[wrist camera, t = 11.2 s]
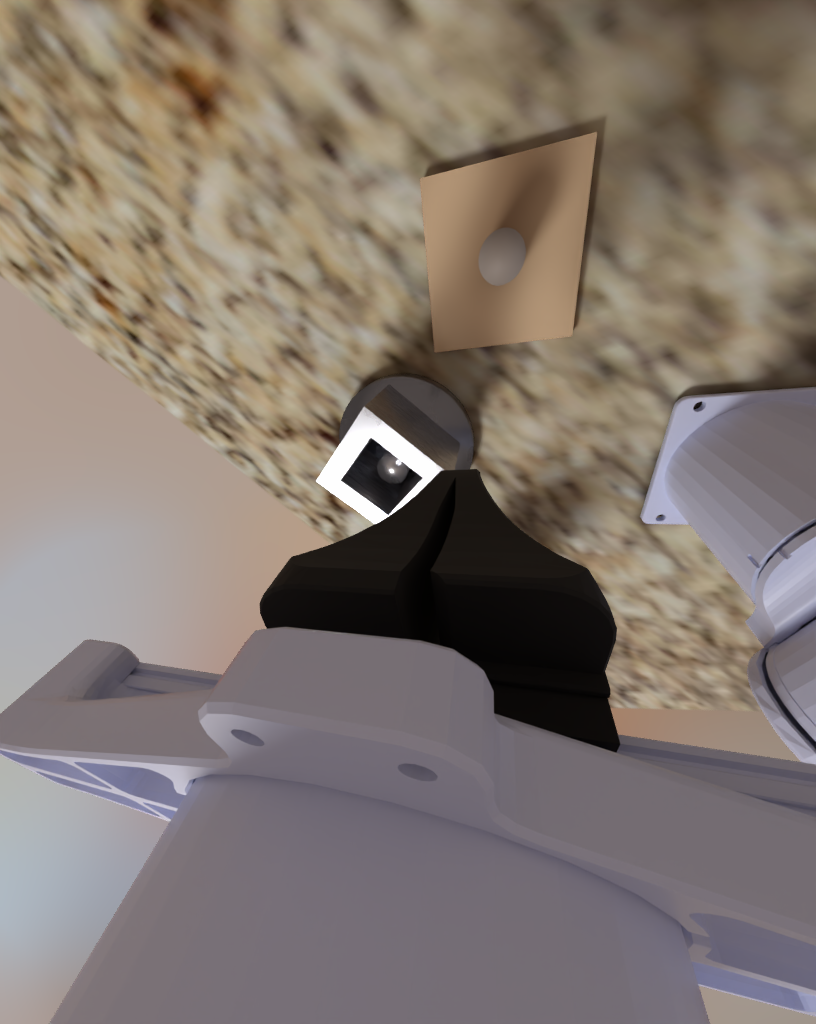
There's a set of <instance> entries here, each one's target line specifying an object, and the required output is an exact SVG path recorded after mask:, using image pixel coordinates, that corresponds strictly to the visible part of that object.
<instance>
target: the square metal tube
mask: <svg viewBox="0 0 816 1024" xmlns="http://www.w3.org/2000/svg"><path fill="white" fill-rule="evenodd" d="M373 439H374V440H375V441H376V442H378V443H379V444H380V445H381V446H383V447H384V448H385V449H387V450H388V451H389V452H390V453H392V454H393V455H394V456H396V457H397V458H398V459H399V460H401V461H402V462H403V463H405V464H406V465H407V466H408V467H410V468H411V469H412V470H413V471H412V473H411V474H410V475H409V476H408V477H407V478H406V479H404V480H403V481H402V482H400V483H396V484H392V483H388V482H386V481H385V480H383V479H382V478H381V477H380V475H379V473H378V470H377V465H378V462H379V461H380V459H379V458H377V457H376V456H375V455H373V454H372V453H371V452H370V451H368V450H367V449H366V448H367V447H368V445H369V444H370V443H371V441H372V440H373ZM460 444H461V443H460V442H458V441H457V440H456V439H455V438H454V437H452V436H451V435H450V434H449V433H447V432H446V431H445V430H444V429H443V428H441V427H440V426H439V425H438V424H437V423H435V422H434V421H433V420H432V419H431V418H429V417H428V416H427V415H426V414H425V413H423V412H422V411H421V410H420V409H419V408H417V407H416V406H415V405H414V404H412V403H411V402H410V401H409V400H408V399H406V398H405V397H404V396H403V395H402V394H400V393H399V392H398V391H397V390H396V389H394V388H393V387H392V386H391V385H390V384H389V385H388V386H386V387H385V388H384V389H383V390H382V391H381V392H380V393H379V394H378V395H376V396H375V397H374V398H373V399H372V400H371V401H370V402H369V403H367V404H366V405H365V406H364V407H363V409H362V411H361V412H360V414H359V415H358V417H357V418H356V420H355V421H354V423H353V425H352V426H351V428H350V429H349V431H348V432H347V434H346V435H345V437H344V438H343V440H342V442H341V443H340V445H339V446H338V448H337V449H336V451H335V452H334V454H333V456H332V457H331V459H330V460H329V462H328V463H327V465H326V466H325V468H324V470H323V471H322V473H321V474H320V476H319V477H318V479H317V480H316V482H318V483H319V484H320V485H322V486H323V487H325V488H326V489H327V490H329V491H330V492H332V493H333V494H334V495H336V496H337V497H338V498H340V499H341V500H343V501H344V502H345V503H347V504H348V505H350V506H351V507H352V508H354V509H355V510H357V511H358V512H359V513H361V514H362V515H364V516H365V517H366V518H368V519H369V520H371V521H372V522H373V523H375V524H376V523H378V522H380V521H382V520H383V519H385V518H386V517H388V516H389V515H391V514H392V513H394V512H395V511H397V510H398V509H399V508H401V507H402V506H403V505H404V504H406V503H407V502H408V501H409V500H410V499H412V498H413V497H414V496H415V495H416V494H418V493H419V492H420V491H421V490H422V489H423V488H424V487H425V486H426V485H427V484H428V483H429V482H430V481H431V480H432V479H433V478H434V477H435V476H436V475H437V474H438V473H439V472H440V471H441V470H454V469H455V465H456V461H457V457H458V452H459V448H460Z"/></svg>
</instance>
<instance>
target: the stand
mask: <svg viewBox="0 0 816 1024" xmlns="http://www.w3.org/2000/svg"><path fill="white" fill-rule="evenodd" d="M596 138H597V132H594V133H590V134H586V135H583V136H579V137H575V138H571V139H567V140H564V141H560V142H556V143H552V144H548V145H545V146H541V147H537V148H533V149H530V150H526V151H522V152H518V153H514V154H511V155H507V156H503V157H499V158H496V159H492V160H488V161H484V162H480V163H477V164H473V165H469V166H465V167H462V168H458V169H454V170H450V171H446V172H443V173H439V174H435V175H431V176H428V177H424V178H420V186H421V198H422V210H423V222H424V233H425V245H426V257H427V269H428V281H429V293H430V305H431V317H432V329H433V341H434V353H436V352H444V351H452V350H461V349H469V348H478V347H486V346H494V345H503V344H511V343H519V342H528V341H536V340H544V339H553V338H561V337H569V336H572V333H573V325H574V317H575V309H576V301H577V293H578V285H579V276H580V268H581V260H582V252H583V244H584V236H585V227H586V219H587V211H588V203H589V195H590V187H591V179H592V170H593V162H594V154H595V146H596Z"/></svg>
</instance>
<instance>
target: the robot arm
mask: <svg viewBox="0 0 816 1024" xmlns="http://www.w3.org/2000/svg"><path fill="white" fill-rule="evenodd" d="M701 401H702V405H701V406H700V407H699V408H698V409H694V410H693V407H694V405H695V404H696V403H698V402H701ZM658 515H662V516H661V517H660V518H656V517H657V516H658ZM641 519H642V520H643V522H645V523H647V524H689V525H690V526H691V527H692V528H693V529H694V531H695V532H696V533H697V534H698V536H699V537H700V538H701V539H702V540H703V542H704V543H705V544H706V545H707V547H708V548H709V549H710V550H711V551H712V553H713V554H714V555H715V556H716V558H717V559H718V560H719V561H720V562H721V564H722V565H723V566H724V567H725V569H726V570H727V571H728V572H729V574H730V575H731V576H732V577H733V578H734V580H735V581H736V582H737V583H738V585H739V586H740V587H741V588H742V589H743V591H744V592H745V593H746V594H747V596H748V597H749V598H750V599H751V600H752V602H753V603H754V604H755V605H756V608H755V611H754V613H753V614H752V615H751V616H750V617H749V618H748V619H747V620H746V624H747V625H748V626H749V628H750V629H751V630H752V632H753V633H754V634H755V636H756V637H757V638H758V640H759V641H760V642H761V644H762V645H763V646H764V648H763V649H761V650H759V651H758V652H757V653H755V654H754V655H753V656H752V658H751V659H750V661H749V663H748V668H747V674H748V681H749V684H750V687H751V689H752V692H753V695H754V697H755V699H756V700H757V702H758V704H759V706H760V708H761V710H762V711H763V713H764V714H765V716H766V718H767V719H768V721H769V722H770V724H771V726H772V727H773V728H774V730H775V731H776V733H777V734H778V735H779V737H780V738H781V739H782V740H783V742H784V743H785V744H786V745H787V746H788V748H789V749H790V750H791V751H792V752H793V753H794V754H795V755H796V756H797V758H798V759H799V760H800V761H801V762H797V761H790V760H783V759H776V758H770V757H763V756H757V755H750V754H744V753H737V752H730V751H724V750H717V749H710V748H703V747H697V746H691V745H684V744H677V743H671V742H664V741H657V740H651V739H644V738H637V737H631V736H624V735H618V733H617V730H616V727H615V723H614V719H613V716H612V713H611V709H610V705H609V702H608V698H609V697H610V687H609V684H608V680H607V677H606V673H605V670H606V667H607V664H608V661H609V658H610V656H611V653H612V650H613V647H614V644H615V641H616V632H617V627H616V625H615V622H614V618H613V615H612V612H611V609H610V607H609V605H608V603H607V601H606V599H605V597H604V595H603V593H602V592H601V590H600V588H599V586H598V585H597V583H596V581H595V580H594V578H593V576H592V575H591V573H590V571H589V570H588V569H587V568H585V567H583V566H581V565H579V564H577V563H575V562H573V561H571V560H568V559H566V558H564V557H562V556H560V555H558V554H556V553H554V552H553V551H551V550H549V549H548V548H546V547H544V546H543V545H541V544H539V543H538V542H536V541H535V540H533V539H532V538H531V537H529V536H528V535H527V534H525V533H524V532H523V531H521V530H520V529H519V528H518V527H517V526H516V525H514V524H513V523H512V522H511V521H510V520H509V519H508V518H507V516H506V515H505V514H504V513H503V512H502V511H501V510H500V508H499V507H498V506H497V504H496V503H495V502H494V500H493V499H492V497H491V496H490V494H489V493H488V491H487V489H486V487H485V486H484V483H483V481H482V479H481V476H480V472H479V471H478V470H477V469H468V470H441V471H440V472H439V473H438V474H437V475H436V476H435V477H434V478H433V479H432V480H431V481H430V482H429V483H428V484H427V485H426V486H425V487H424V488H423V489H422V490H421V491H420V492H419V493H418V494H416V495H415V496H414V497H413V498H412V499H410V500H409V501H408V502H407V503H406V504H404V505H403V506H402V507H401V508H399V509H398V510H397V511H395V512H394V513H392V514H391V515H389V516H388V517H386V518H385V519H383V520H382V521H380V522H378V523H376V524H374V525H373V526H371V527H369V528H367V529H365V530H363V531H361V532H359V533H357V534H355V535H353V536H351V537H348V538H346V539H344V540H341V541H339V542H336V543H334V544H331V545H328V546H326V547H323V548H319V549H317V550H313V551H310V552H307V553H303V554H300V555H297V556H293V557H291V558H290V560H289V561H288V562H287V564H286V565H285V566H284V568H283V569H282V570H281V572H280V573H279V574H278V576H277V577H276V578H275V580H274V581H273V582H272V584H271V585H270V587H269V588H268V589H267V591H266V592H265V593H264V595H263V597H262V599H261V602H260V614H261V616H262V619H263V621H264V623H265V626H266V627H267V629H262V630H257V631H255V632H254V633H253V634H252V635H251V636H250V638H249V639H248V640H247V641H246V642H245V644H244V645H243V646H242V648H241V649H240V651H239V652H238V654H237V655H236V657H235V658H234V659H233V661H232V663H231V664H230V665H229V667H228V668H227V670H226V671H225V673H224V674H223V675H219V674H213V673H207V672H200V671H194V670H187V669H179V668H174V667H166V666H160V665H153V664H147V663H141V662H139V659H138V658H137V657H136V656H135V655H134V654H133V653H132V652H131V651H130V650H129V649H128V648H126V647H124V646H122V645H120V644H117V643H112V642H105V641H97V640H85V641H83V642H82V643H81V644H80V645H79V646H78V647H77V648H76V649H74V650H73V651H72V652H71V653H70V654H69V655H67V656H66V657H65V658H64V659H63V660H62V661H61V662H59V663H58V664H57V665H56V666H55V667H54V668H52V669H51V670H50V671H49V672H48V673H47V674H46V675H45V676H44V677H42V678H41V679H40V680H39V681H38V682H36V683H35V684H34V685H33V686H32V687H31V688H30V689H28V690H27V691H26V692H25V693H24V694H23V695H22V696H20V697H19V698H18V699H17V700H16V701H15V702H13V703H12V704H11V705H10V706H9V707H8V708H7V709H6V710H4V711H3V712H2V713H1V714H0V755H1V756H3V757H5V758H7V759H9V760H11V761H13V762H15V763H17V764H19V765H21V766H23V767H25V768H27V769H28V770H30V771H33V772H34V773H36V774H38V775H40V776H42V777H44V778H46V779H48V780H50V781H52V782H54V783H56V784H59V785H62V786H65V787H69V788H72V789H75V790H78V791H81V792H85V793H88V794H91V795H94V796H97V797H100V798H103V799H106V800H109V801H112V802H115V803H118V804H121V805H124V806H127V807H130V808H132V809H135V810H138V811H141V812H144V813H147V814H149V815H152V816H155V817H158V818H161V819H163V820H167V821H169V822H170V823H169V824H168V826H167V828H166V829H165V831H164V833H163V834H162V836H161V838H160V839H159V841H158V843H157V844H156V846H155V848H154V849H153V851H152V853H151V854H150V856H149V858H148V859H147V861H146V863H145V864H144V866H143V868H142V869H141V871H140V873H139V874H138V876H137V878H136V879H135V881H134V883H133V884H132V886H131V888H130V889H129V891H128V893H127V895H126V896H125V898H124V899H123V901H122V903H121V904H120V906H119V908H118V909H117V911H116V913H115V914H114V916H113V918H112V919H111V921H110V923H109V924H108V926H107V928H106V929H105V931H104V933H103V934H102V936H101V938H100V939H99V941H98V943H97V944H96V946H95V948H94V950H93V951H92V953H91V955H90V956H89V958H88V960H87V961H86V963H85V965H84V966H83V968H82V969H81V971H80V973H79V974H78V976H77V978H76V979H75V981H74V983H73V985H72V986H71V988H70V990H69V991H68V993H67V995H66V996H65V998H64V1000H63V1001H62V1003H61V1005H60V1006H59V1008H58V1010H57V1011H56V1013H55V1015H54V1017H53V1018H52V1020H51V1021H50V1023H49V1024H710V1022H709V1019H708V1015H707V1012H706V1009H705V1005H704V1002H703V999H702V995H701V992H700V989H699V986H702V987H706V988H710V989H714V990H718V991H721V992H725V993H729V994H733V995H736V996H740V997H744V998H748V999H751V1000H755V1001H759V1002H763V1003H766V1004H770V1005H774V1006H778V1007H782V1008H785V1009H789V1010H793V1011H796V1012H800V1013H804V1014H808V1015H812V1016H815V1017H816V387H806V388H792V389H778V390H763V391H749V392H735V393H721V394H706V395H692V396H685V397H682V398H680V399H679V400H678V401H677V402H676V403H675V405H674V407H673V410H672V414H671V417H670V420H669V424H668V427H667V430H666V433H665V437H664V440H663V443H662V446H661V450H660V453H659V456H658V460H657V463H656V466H655V469H654V473H653V476H652V479H651V483H650V486H649V489H648V492H647V496H646V499H645V502H644V505H643V509H642V512H641Z"/></svg>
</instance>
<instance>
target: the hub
mask: <svg viewBox="0 0 816 1024" xmlns="http://www.w3.org/2000/svg"><path fill="white" fill-rule="evenodd" d="M389 384H390V385H391V386H392V387H393V388H394V389H396V390H397V391H398V392H399V393H400V394H402V395H403V396H404V397H405V398H406V399H408V400H409V401H410V402H411V403H412V404H414V405H415V406H416V407H417V408H419V409H420V410H421V411H422V412H423V413H425V414H426V415H427V416H428V417H429V418H431V419H432V420H433V421H434V422H435V423H437V424H438V425H439V426H440V427H441V428H443V429H444V430H445V431H446V432H447V433H449V434H450V435H451V436H452V437H454V438H455V439H456V440H457V441H458V442H460V443H461V444H460V448H459V452H458V457H457V461H456V465H455V469H454V470H468V469H470V466H471V463H472V457H473V451H474V434H473V429H472V424H471V421H470V419H469V416H468V414H467V412H466V410H465V409H464V407H463V405H462V404H461V403H460V401H459V400H458V399H457V398H456V397H455V396H454V395H453V394H452V393H451V392H450V391H449V390H448V389H446V388H445V387H444V386H443V385H441V384H439V383H437V382H436V381H434V380H431V379H429V378H426V377H423V376H419V375H414V374H394V375H388V376H385V377H382V378H379V379H377V380H376V381H374V382H372V383H370V384H369V385H368V386H366V387H365V388H363V389H362V390H361V391H359V392H358V393H357V394H356V395H355V396H354V397H353V399H352V400H351V401H350V403H349V404H348V406H347V408H346V410H345V412H344V414H343V417H342V420H341V425H340V435H339V437H340V443H341V442H342V440H343V438H344V437H345V435H346V434H347V432H348V431H349V429H350V428H351V426H352V425H353V423H354V421H355V420H356V418H357V417H358V415H359V414H360V412H361V411H362V409H363V407H364V406H365V405H366V404H367V403H369V402H370V401H371V400H372V399H373V398H374V397H375V396H376V395H378V394H379V393H380V392H381V391H382V390H383V389H384V388H385V387H386V386H388V385H389ZM366 449H367V450H368V451H370V452H371V453H372V454H373V455H375V456H376V457H377V458H379V459H380V461H379V462H378V465H377V470H378V473H379V475H380V477H381V478H382V479H383V480H385V481H386V482H388V483H392V484H396V483H400V482H402V481H403V480H404V479H406V478H407V477H408V476H409V475H410V474H411V473H412V471H413V470H412V469H411V468H410V467H408V466H407V465H406V464H405V463H403V462H402V461H401V460H399V459H398V458H397V457H396V456H394V455H393V454H392V453H390V452H389V451H388V450H387V449H385V448H384V447H383V446H381V445H380V444H379V443H378V442H376V441H375V440H374V439H373V440H372V441H371V443H370V444H369V445H368V447H367V448H366Z"/></svg>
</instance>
